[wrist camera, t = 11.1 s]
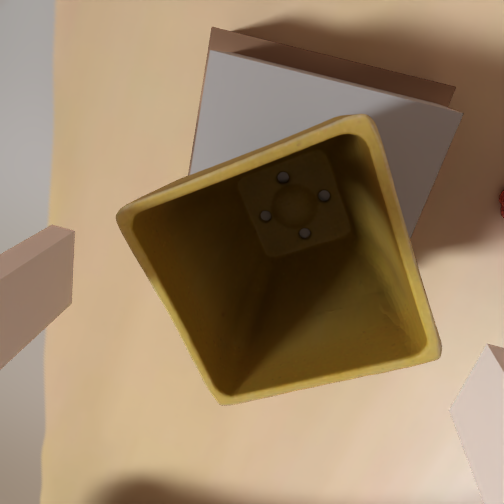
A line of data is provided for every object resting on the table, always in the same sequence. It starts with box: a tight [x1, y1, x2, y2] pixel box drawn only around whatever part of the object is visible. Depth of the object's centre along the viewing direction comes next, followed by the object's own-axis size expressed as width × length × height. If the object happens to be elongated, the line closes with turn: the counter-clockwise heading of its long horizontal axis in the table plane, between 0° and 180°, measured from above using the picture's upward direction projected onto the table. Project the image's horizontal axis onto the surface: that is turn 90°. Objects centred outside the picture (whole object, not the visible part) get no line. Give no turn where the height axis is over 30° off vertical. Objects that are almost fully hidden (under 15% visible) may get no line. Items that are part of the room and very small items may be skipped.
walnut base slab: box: [188, 27, 456, 176], centre depth 29 cm, size 14×14×5 cm
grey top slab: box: [190, 50, 464, 239], centre depth 24 cm, size 12×12×5 cm
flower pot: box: [116, 114, 442, 406], centre depth 18 cm, size 9×9×9 cm
